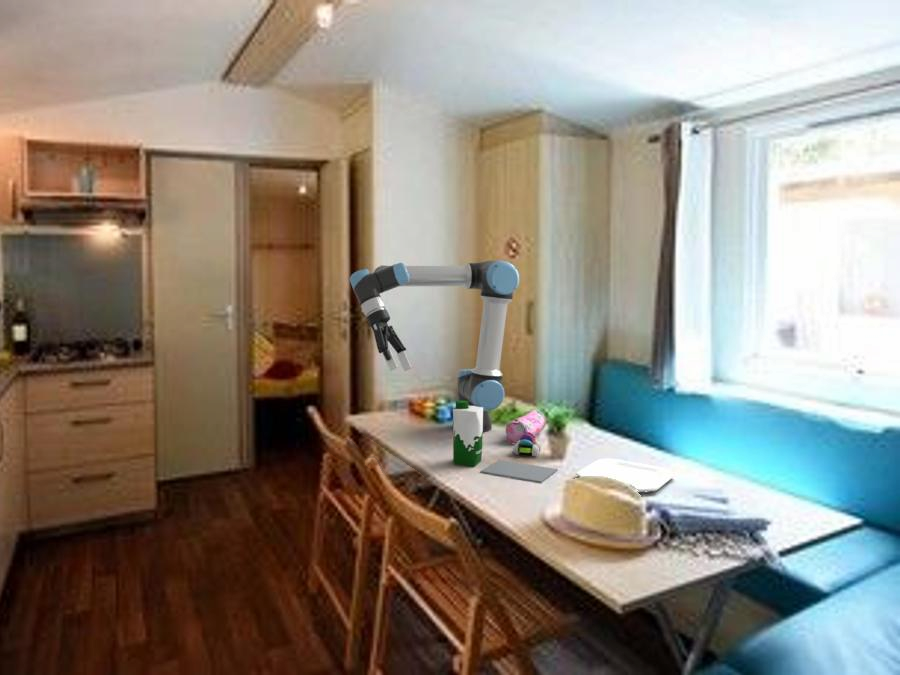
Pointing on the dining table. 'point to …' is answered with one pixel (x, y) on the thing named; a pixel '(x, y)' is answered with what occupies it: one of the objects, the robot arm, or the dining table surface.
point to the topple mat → (519, 471)
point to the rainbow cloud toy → (527, 445)
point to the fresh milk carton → (467, 434)
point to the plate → (629, 473)
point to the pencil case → (525, 426)
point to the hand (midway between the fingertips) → (401, 369)
